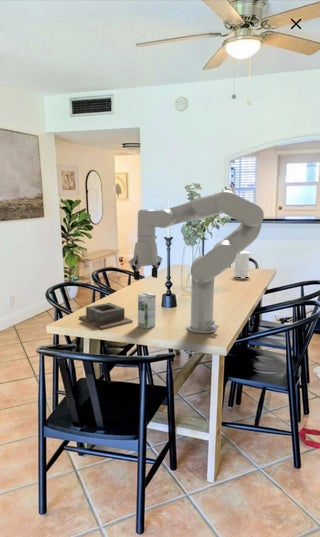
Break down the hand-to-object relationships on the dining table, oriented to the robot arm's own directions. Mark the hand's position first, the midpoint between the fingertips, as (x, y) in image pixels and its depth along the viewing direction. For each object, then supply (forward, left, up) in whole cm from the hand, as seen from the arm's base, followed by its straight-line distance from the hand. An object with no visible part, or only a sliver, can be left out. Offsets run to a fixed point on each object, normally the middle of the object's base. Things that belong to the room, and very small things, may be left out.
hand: (145, 278), depth 167 cm
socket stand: (+18, +10, -21) cm, 29 cm away
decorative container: (+44, -121, -22) cm, 131 cm away
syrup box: (0, 0, -22) cm, 22 cm away
